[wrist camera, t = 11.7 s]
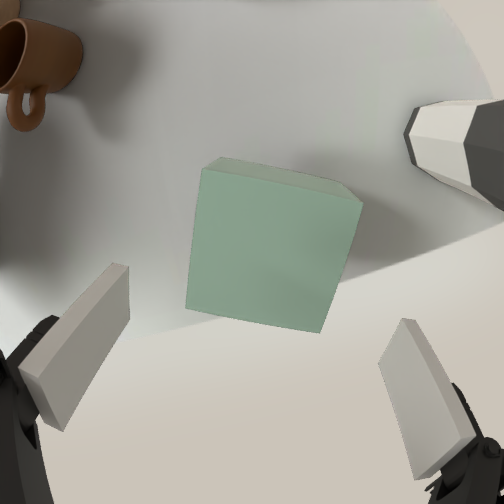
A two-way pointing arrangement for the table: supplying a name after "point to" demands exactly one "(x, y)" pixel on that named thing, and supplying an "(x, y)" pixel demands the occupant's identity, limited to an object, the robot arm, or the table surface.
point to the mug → (35, 66)
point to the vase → (9, 10)
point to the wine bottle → (461, 145)
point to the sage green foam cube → (269, 244)
